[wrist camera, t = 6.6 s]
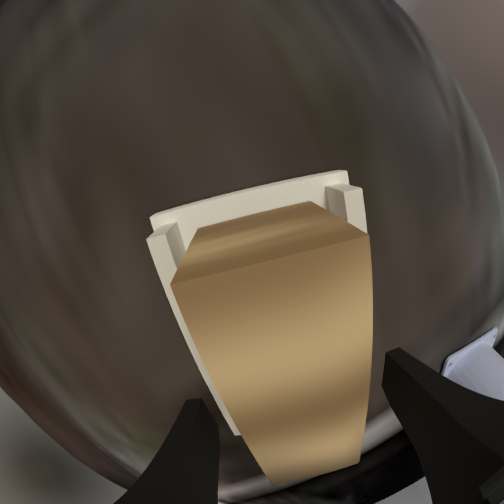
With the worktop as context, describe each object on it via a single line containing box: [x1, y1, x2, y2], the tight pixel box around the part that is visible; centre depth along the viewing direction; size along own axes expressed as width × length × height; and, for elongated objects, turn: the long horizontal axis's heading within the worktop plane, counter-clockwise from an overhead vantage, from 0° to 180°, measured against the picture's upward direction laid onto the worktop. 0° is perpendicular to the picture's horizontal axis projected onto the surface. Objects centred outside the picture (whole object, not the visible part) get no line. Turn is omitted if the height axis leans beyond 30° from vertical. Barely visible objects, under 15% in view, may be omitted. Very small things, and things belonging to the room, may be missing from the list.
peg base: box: [146, 170, 367, 436], centre depth 13 cm, size 14×9×3 cm, turn 13°
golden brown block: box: [170, 201, 373, 485], centre depth 10 cm, size 12×4×5 cm, turn 13°
